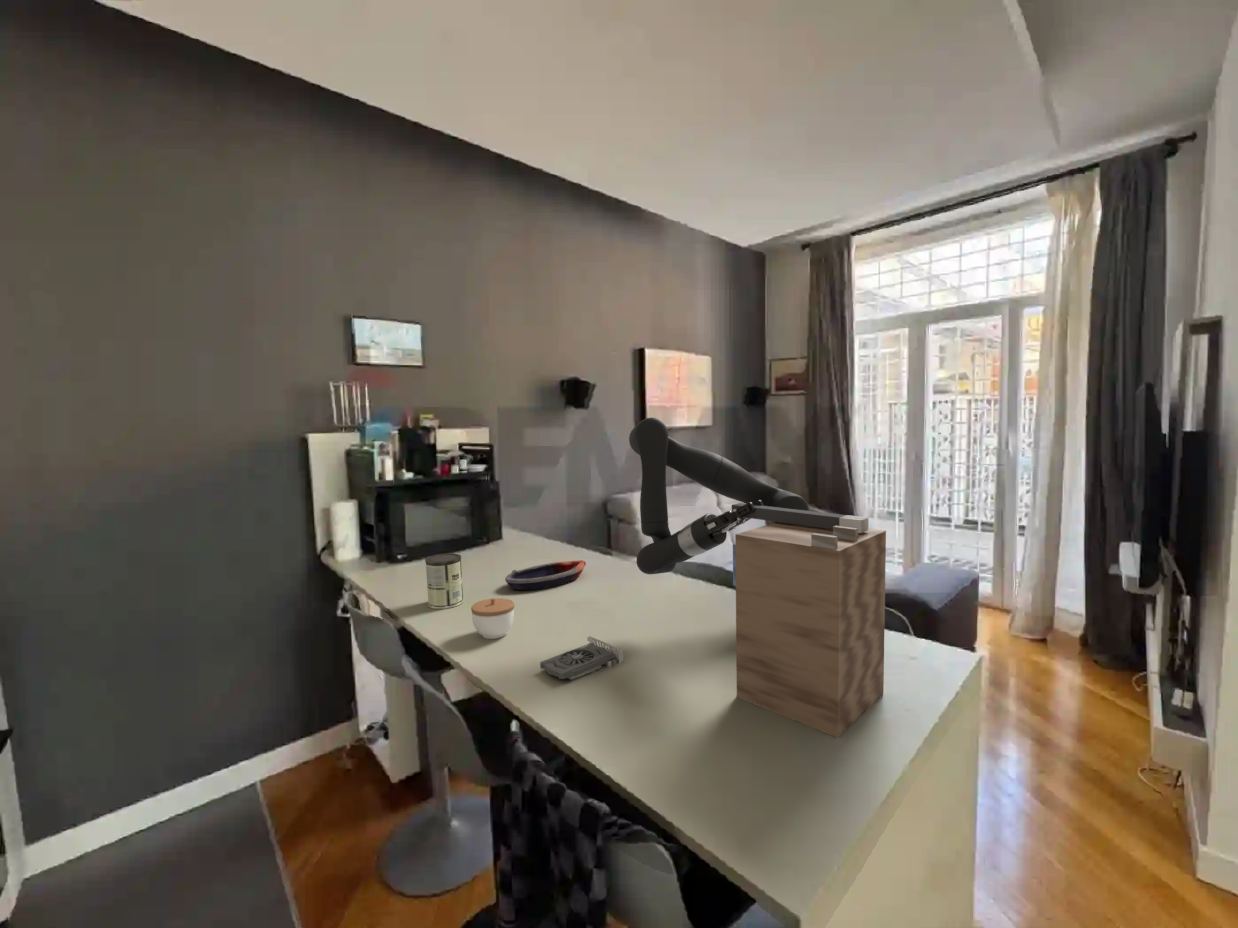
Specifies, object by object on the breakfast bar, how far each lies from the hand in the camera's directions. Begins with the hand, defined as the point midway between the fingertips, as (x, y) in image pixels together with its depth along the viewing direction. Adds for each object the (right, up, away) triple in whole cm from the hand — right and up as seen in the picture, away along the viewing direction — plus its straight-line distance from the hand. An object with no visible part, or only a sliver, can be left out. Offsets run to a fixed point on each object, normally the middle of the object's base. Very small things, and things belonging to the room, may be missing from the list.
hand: (757, 505), depth 118 cm
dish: (-53, -31, +68) cm, 92 cm away
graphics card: (-38, -37, +5) cm, 53 cm away
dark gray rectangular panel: (+6, -3, -6) cm, 9 cm away
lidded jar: (-61, -35, +24) cm, 75 cm away
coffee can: (-82, -33, +49) cm, 101 cm away
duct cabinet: (+8, -36, -11) cm, 38 cm away
